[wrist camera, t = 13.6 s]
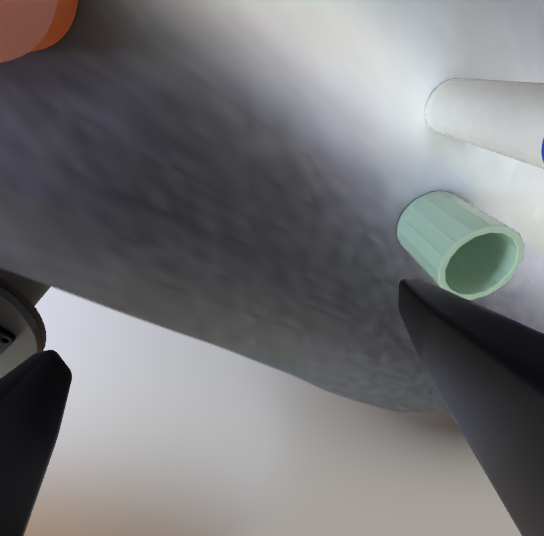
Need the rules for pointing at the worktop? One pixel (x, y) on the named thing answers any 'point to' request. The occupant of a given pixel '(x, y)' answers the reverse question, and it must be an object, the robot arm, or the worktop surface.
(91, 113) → the worktop surface
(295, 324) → the worktop surface
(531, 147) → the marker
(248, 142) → the worktop surface
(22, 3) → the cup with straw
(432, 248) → the glass
